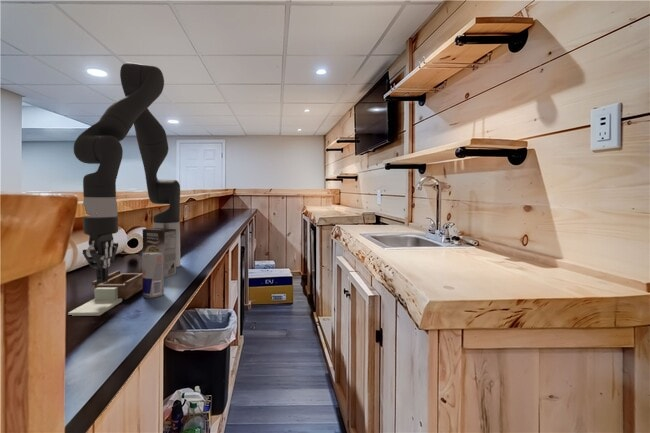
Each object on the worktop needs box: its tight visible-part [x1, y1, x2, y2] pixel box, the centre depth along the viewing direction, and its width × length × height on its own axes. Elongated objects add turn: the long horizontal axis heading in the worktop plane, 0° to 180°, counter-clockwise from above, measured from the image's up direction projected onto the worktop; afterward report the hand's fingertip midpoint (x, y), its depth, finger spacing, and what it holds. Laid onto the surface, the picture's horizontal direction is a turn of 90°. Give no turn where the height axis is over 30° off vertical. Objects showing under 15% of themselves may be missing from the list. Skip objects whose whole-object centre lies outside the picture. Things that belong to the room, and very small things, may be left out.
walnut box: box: [91, 269, 143, 301], centre depth 104 cm, size 14×9×5 cm, turn 4°
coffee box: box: [142, 227, 177, 278], centre depth 126 cm, size 9×6×16 cm
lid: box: [67, 287, 123, 317], centre depth 90 cm, size 11×7×4 cm, turn 4°
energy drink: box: [141, 252, 165, 299], centre depth 102 cm, size 5×5×12 cm
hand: (102, 281), depth 93 cm, fingers closed
